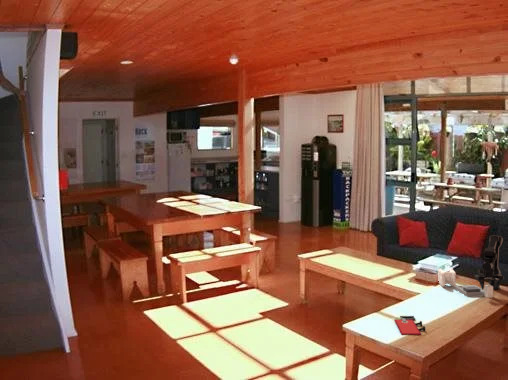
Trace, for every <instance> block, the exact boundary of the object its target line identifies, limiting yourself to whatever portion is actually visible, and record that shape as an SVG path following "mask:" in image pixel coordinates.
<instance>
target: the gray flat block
mask: <svg viewBox="0 0 508 380" xmlns="http://www.w3.org/2000/svg"><path fill="white" fill-rule="evenodd" d="M478 287H479V286H478ZM478 287H463V290H464V291H465V292H480V290H481V289H482V288H481V289H479V288H478Z"/></svg>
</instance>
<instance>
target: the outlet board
mask: <svg viewBox="0 0 508 380" xmlns="http://www.w3.org/2000/svg"><path fill="white" fill-rule="evenodd" d="M463 287H478V288H479V289H481V290H480V292H465V291H464V290H463ZM453 288H454V290H455V291H456V292H458V291H459V292H458V293H460V294H462V295H463V294H464V295H463V296H466V297H472V296H475V297H476V296H477V297H478V296H484V291H485V289H483V290H482V288H481V286H478V285H476V284H469V285H468V284H467V285H465V284H464V285H463V284H462V285H456V286H454V287H453Z"/></svg>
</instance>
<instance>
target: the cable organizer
mask: <svg viewBox="0 0 508 380" xmlns="http://www.w3.org/2000/svg"><path fill="white" fill-rule="evenodd" d="M437 270H438V272H437V273H438V275H437V277H438V278H437V281H439V282H438V284H439V285H440V287H443V288H444V287H445V286H446V285H450V286H452V287H453V288H454V286H457V284H456V282H457V280H456V278H457V273H456V271H455V270H454V269H453V268H449V271H444V270H443V269H442V268H438V269H437Z"/></svg>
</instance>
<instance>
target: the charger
mask: <svg viewBox="0 0 508 380" xmlns="http://www.w3.org/2000/svg"><path fill="white" fill-rule="evenodd" d="M484 290H485V291H484V295H483V296H484V297H485V298H489V299H490V298H491V299H492V298H494V290H493V286H491V285H489V284H484Z"/></svg>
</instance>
